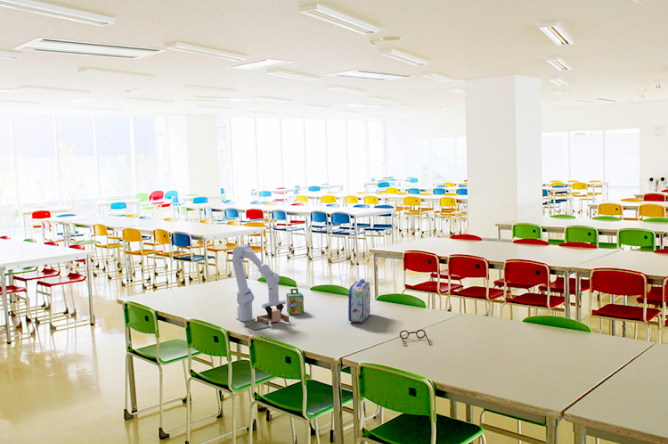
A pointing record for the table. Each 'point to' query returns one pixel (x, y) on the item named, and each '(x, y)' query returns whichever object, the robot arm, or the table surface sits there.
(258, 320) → the walnut stall
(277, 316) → the terracotta block
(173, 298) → the table surface
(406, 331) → the glasses
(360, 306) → the lunch box
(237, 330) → the table surface
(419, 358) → the table surface
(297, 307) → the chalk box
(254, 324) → the slate mat
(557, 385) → the table surface
